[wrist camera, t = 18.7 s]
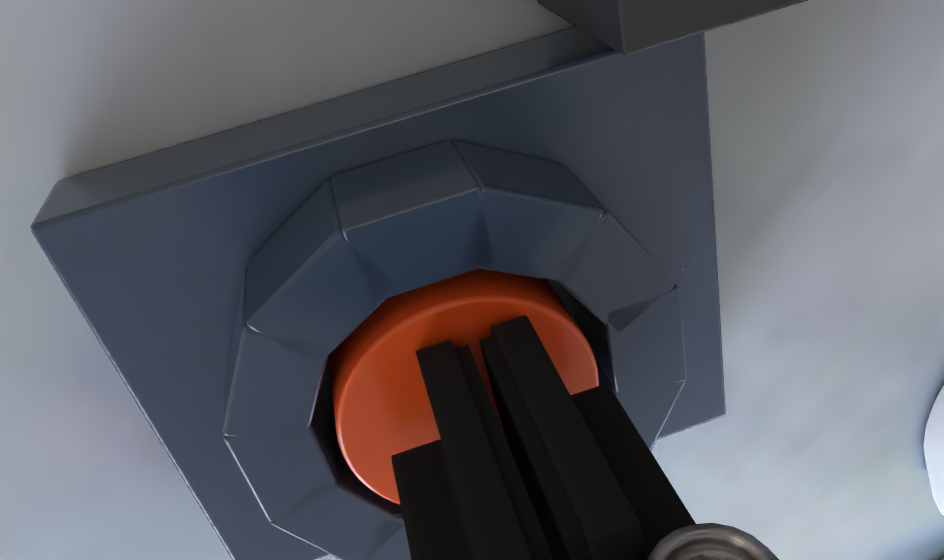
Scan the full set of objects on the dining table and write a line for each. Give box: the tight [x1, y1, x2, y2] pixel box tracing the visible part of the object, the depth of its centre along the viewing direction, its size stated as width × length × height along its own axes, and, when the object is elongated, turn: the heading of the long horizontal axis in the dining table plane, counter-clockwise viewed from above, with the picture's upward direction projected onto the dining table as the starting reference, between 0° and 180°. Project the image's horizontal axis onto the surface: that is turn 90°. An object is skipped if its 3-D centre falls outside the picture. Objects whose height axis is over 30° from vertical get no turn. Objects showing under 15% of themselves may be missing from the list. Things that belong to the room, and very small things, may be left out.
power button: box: [327, 269, 599, 504], centre depth 12 cm, size 4×4×2 cm
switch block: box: [31, 27, 726, 560], centre depth 13 cm, size 10×8×4 cm
